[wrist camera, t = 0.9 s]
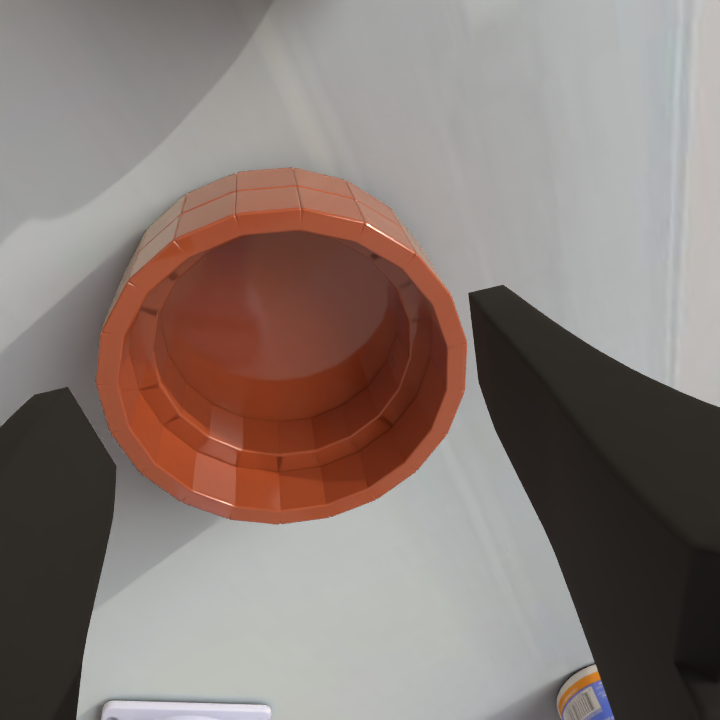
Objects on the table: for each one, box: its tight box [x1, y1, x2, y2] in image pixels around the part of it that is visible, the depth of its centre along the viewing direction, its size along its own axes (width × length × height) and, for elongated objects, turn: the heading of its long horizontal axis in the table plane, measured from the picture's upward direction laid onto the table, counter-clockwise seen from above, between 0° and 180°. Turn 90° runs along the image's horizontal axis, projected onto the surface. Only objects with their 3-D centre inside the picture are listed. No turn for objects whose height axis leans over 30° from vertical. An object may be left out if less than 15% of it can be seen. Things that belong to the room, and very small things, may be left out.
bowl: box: [95, 167, 467, 524], centre depth 21 cm, size 10×10×4 cm
